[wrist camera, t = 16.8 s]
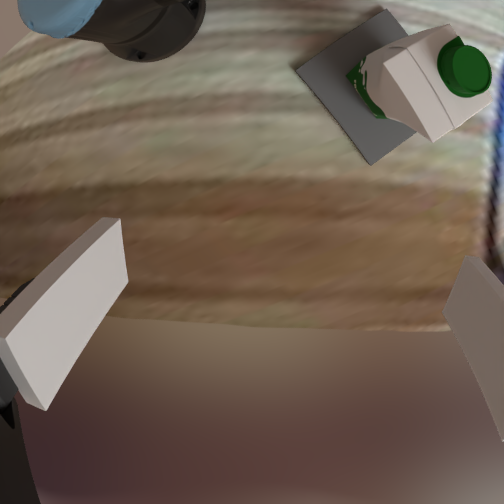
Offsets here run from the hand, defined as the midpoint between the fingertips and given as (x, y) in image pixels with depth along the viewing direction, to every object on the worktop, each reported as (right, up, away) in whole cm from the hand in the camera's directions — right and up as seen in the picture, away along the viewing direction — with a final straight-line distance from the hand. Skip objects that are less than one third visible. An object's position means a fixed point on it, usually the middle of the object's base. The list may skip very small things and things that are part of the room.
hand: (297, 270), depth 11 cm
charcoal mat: (+15, +23, +25) cm, 37 cm away
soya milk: (+15, +22, +24) cm, 36 cm away
